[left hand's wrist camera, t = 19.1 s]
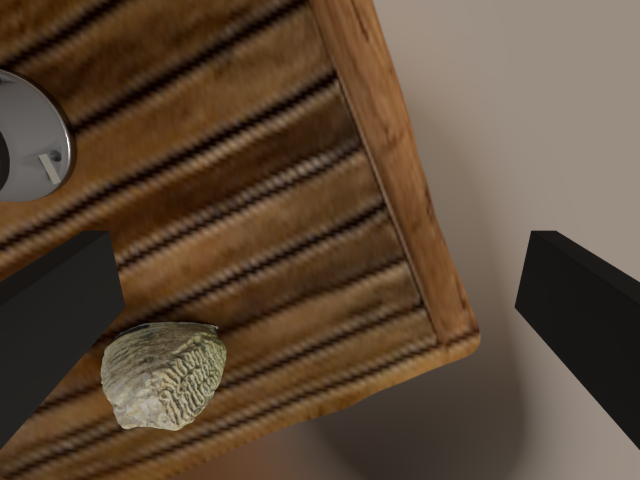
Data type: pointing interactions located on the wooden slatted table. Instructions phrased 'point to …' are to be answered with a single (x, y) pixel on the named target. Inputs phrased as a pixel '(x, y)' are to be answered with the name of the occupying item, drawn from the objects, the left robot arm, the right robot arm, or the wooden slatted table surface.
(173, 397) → the fossil
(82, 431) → the wooden slatted table surface
